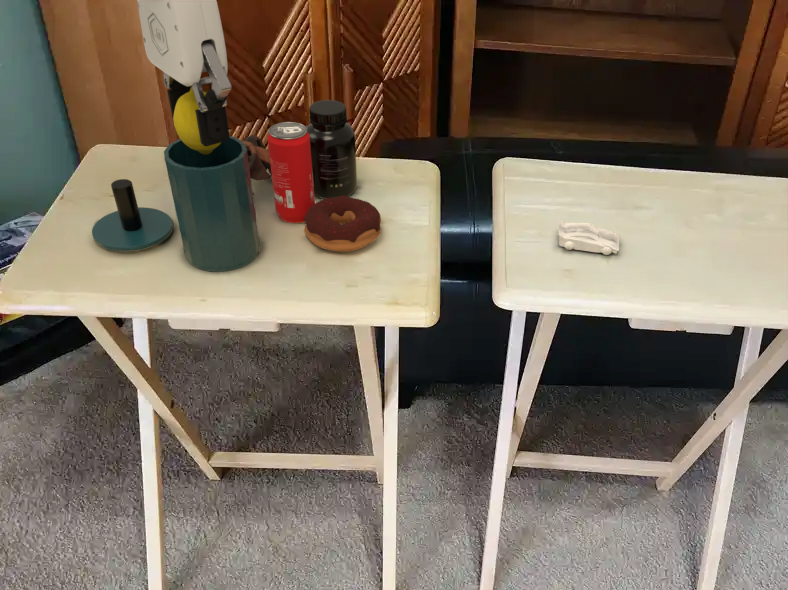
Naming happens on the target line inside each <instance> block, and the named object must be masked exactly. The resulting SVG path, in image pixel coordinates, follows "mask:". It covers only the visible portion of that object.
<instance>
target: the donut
mask: <svg viewBox="0 0 788 590" xmlns="http://www.w3.org/2000/svg"><path fill="white" fill-rule="evenodd" d="M304 219H305V222H304V223H305V225H304V229H303V230H304V233H305V236H306V237H307V239H308V240H309V241H310V242H312V243H313V244H314V245H315V246H317V247H318V248H321V249H323V250H324V249H325V250H328V251H333V252H352V251H357V250H360V249H362V248H365V247H366V246H368V245H370V244H372V243H373V242H374V241H376V240H377V239H378V238H379V237H380V235H381V233H382V226H381V224H382V218H381V214H380V212H379V210H378V209H377V207H375V205H373V204H371V202H369V201H367V200H363V199H360V198H354V197H352V196H351V197H350V196H339V197H334V198H327V199H325V198H323V199H322V200H319V201H317V202H315V204H314V205H312V206H311V207H310V208H309V209H308V211H307V213H306V215H305V218H304Z"/></svg>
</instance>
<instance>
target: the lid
mask: <svg viewBox="0 0 788 590" xmlns="http://www.w3.org/2000/svg"><path fill="white" fill-rule="evenodd" d="M110 186H111V190H112V194H113V198H114V201H115V207H116V210H115V211H112V212H110V213H107V214H106V215H104V216H102V217H101V218H100V219H98V220H97V221H96V222H95V223H94V225H93V226H92V229H91V235H92V238H93V241H94V242H95V243H96V244H97V245H99V247H101V248H102V249H103V248H104V249H105V250H110V251H114V252H136V251H142V250H147V249H149V248H152V247H154V246H156V245H159V244H161V243H163V242H164V241H165V240H167V239H168V238H169V237H170V235H171V234H172V232H173V231H174V224H173V220H172V218H171V217H170V215H169V214H167V213H166V212H165V211H163V210H160V209H157V208H153V207H142V206H141V207H139V206H138V202H137V197H136V193H135V189H134V184H133V182H132V180H130V179H127V178H120V179H115V180H113V181H112V182H111V185H110Z"/></svg>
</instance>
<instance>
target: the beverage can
mask: <svg viewBox="0 0 788 590" xmlns="http://www.w3.org/2000/svg"><path fill="white" fill-rule="evenodd" d="M306 127H307V126H306V125H304V124H302V123H299V122H295V121H293V122H292V121H284V122H279V123H278V122H277V123H276V124H273V125H272V126H270V127H269V128H268V134H267V136H266V137H267V138H266V139H267V146H268V151H269V156H270V164H271V173H272V178H271V180H272V190H273V197H274V206H275V211H276V212H277V214H278V215H279V218H280V219H281V220H282V221H283V222H285V223H288V224H303V223H305V219H304V218H305V215H306V213H307V211H308V209H309V208H310V207H311V206H312V205H314V204H316V197H315V195H314V184H313V172H312V159H311V147H310V136H309V133H308V132H307V128H306Z"/></svg>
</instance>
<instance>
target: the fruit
mask: <svg viewBox="0 0 788 590" xmlns="http://www.w3.org/2000/svg"><path fill="white" fill-rule="evenodd" d="M203 93H204V97H205V95H206V93H207V91H203ZM197 109H199V107H198V104H197V101H196V98H195V95H194V92H193V88H192V87H191V89H190V91H189V92H187V93H185V94H184V95H182V96H181V97H180V98H179V99H178V101H177V103H176V106H175V110H174V117H173V118H172V120H173V119H174V122H173V127H174V129H175V132H176V134H177V136H178V139H181V140H182V141H183V143H184V144H186V145H187V146H188V147H189V148H191V149H193V150H196V151H198V152H200V153H201V154H204V155H207V154H210V153H211V152H212V151H213V149H215V148H216V147H218V146H219V145H220V143H221V142H220V143H217V144H213V145H210V146H204V145H202V144H201V140H200V135H199V129H198V123H197V118H196V112H195V110H197Z"/></svg>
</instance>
